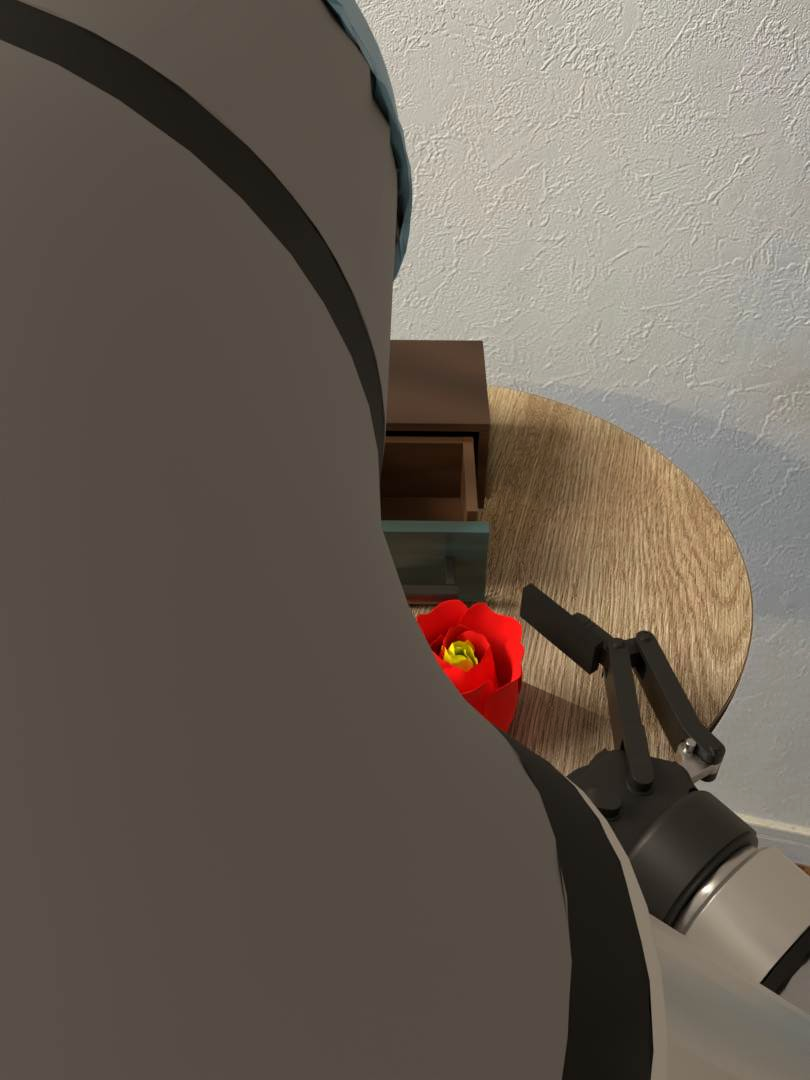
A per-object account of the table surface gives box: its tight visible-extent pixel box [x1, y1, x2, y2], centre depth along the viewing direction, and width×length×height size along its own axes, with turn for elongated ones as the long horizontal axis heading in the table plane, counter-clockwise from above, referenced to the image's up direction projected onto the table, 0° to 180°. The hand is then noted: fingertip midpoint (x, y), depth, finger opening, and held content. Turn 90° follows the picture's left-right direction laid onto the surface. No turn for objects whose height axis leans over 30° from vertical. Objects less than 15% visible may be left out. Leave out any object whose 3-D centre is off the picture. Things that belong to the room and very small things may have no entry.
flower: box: [416, 600, 525, 734], centre depth 61 cm, size 8×8×8 cm
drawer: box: [380, 436, 491, 605], centre depth 72 cm, size 16×10×7 cm, turn 179°
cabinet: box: [385, 339, 491, 510], centre depth 82 cm, size 13×12×9 cm
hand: (446, 646), depth 61 cm, fingers open, 13 cm apart
